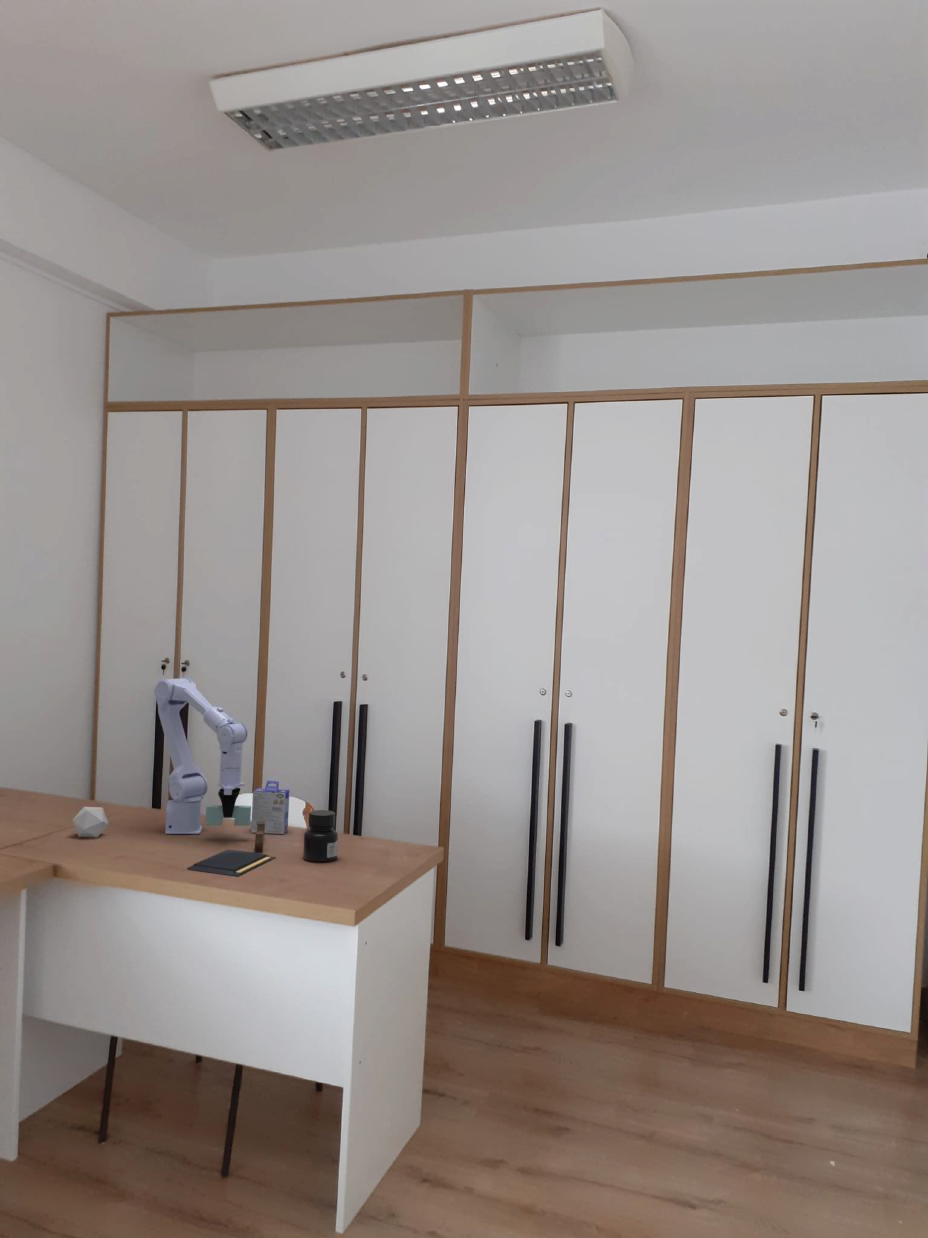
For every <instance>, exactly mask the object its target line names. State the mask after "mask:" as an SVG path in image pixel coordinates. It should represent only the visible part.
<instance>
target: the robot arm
mask: <svg viewBox="0 0 928 1238" xmlns="http://www.w3.org/2000/svg"><path fill="white" fill-rule="evenodd" d="M153 693H154V697H155V700H156V704H157V709H158V710H157V712H158V717H159V720H160V725H161V727H162V731H163V734H164V738H165V742H166V746H167V749H168V752H169V756H170V760H171V763H172V768H173V771H172V772H171V774H169V776H168V779H167V780H168V782H169V783H168V784H169V787H168V788H169V790H168V792H169V794H170V797H171V799H169V800H168V801H167V802H166V803H167V804H166V809H165V811H166V812H165V821H164V823H165V825H164V826H165V830H164V834H166V835H173V834H174V835H175V834H176V835H200V834H201V831H202V830H203V825H201V814H202V813H201V812H202V811H201V810H202V808H201V807H202V800H203V799H204V796H205V795H206V794H207V793H208V787H209V785H208V784H209V782H208V780H207V779H206V777H205V775H204V774H203V772H202V769H201V768H200V767H198V766H197V765H195V764H194V762H193V759H192V754H191V752H190V747H189V744H188V740H187V738H186V737H187V736H186V734H185V730H184V727H183V723H182V722H183V721H182V718H181V715H180V712H181V710H182V709H183V708H184V707H185V706H186V704H189V705H190V706H191V707H193V708H194V709H195V710H197V711H198V712H199V714H201V715H202V716H203V717H202V718H203V722H204V724H206V726H208V727H209V728H210V729H211V730H212V731H213V733H215V734H216V737H217V738H216V739H217V742H218V743H219V749H220V761H219V762H220V763H219V778H218V779H219V781H218V784H217V785H218V787H220V788H219V791H217V792H218V793H217V795H218V797H219V799H220V803H221V805H222V809H223V815H224V817H232V814H233V810H234V806H236V801H237V799H238V797H239V795H240V792H241V788H240V787H244V786H245V785H246V784H245V782H242V781H241V779H242V777H241V776H242V759H243V745H244V743H245V742H246V740H247V739H248V729H247V727H246V726H245V725H244V723H243V722H237V721H235V720H234V719H233V718H232V717H230V716H229V715H228V714H227V713H226V712H225V711H224V710H225V709H224V708H222V707H220V706H213V705H212V704H211V703H210V702H209V701H208V700H207V699H206V698H205V696H204V695H203V694H202V693H201V692H200V691H199V690H198V689H197V684H196V683H195V682H193V680H192V679H191V678H189V677H182V678H162V679H160V680H158V682H157V683H156V685H155V688H154V689H153Z"/></svg>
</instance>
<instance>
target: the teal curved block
mask: <svg viewBox="0 0 928 1238" xmlns="http://www.w3.org/2000/svg"><path fill="white" fill-rule="evenodd" d="M223 819H234V822H233V825H234V826H247V827H251V821H252V805H235V806H234V810H233V814H232V817H224V815H223V809H222V804H221V805H217V804H216V805H212V804H209V805H206V807H205V820H204V821H205V823H204V824H205V826H222V825H223Z"/></svg>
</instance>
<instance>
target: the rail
mask: <svg viewBox="0 0 928 1238" xmlns="http://www.w3.org/2000/svg"><path fill="white" fill-rule="evenodd" d="M265 835H266V833H265V821H258V823H257V831H256V833H255V838H254V839H255V841H254V842H255V843H254V853H261V854H263V850H264V844H265Z"/></svg>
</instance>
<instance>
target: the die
mask: <svg viewBox="0 0 928 1238" xmlns="http://www.w3.org/2000/svg"><path fill="white" fill-rule="evenodd" d="M72 822H73V825H74V828H75V831H76V833H77V836H78V838H94V839H95V838H98V837H99V836H100V835H101V834H102V833H103V832H104V831H105V829H106V828H107V827H108V826H109V822H108V819H107V816H106V813H105V811H104V808H103V807H97V806H83V807H82V808H81V809H80V811H79V812H78V813H77V814H76V816H74V818H73V819H72Z"/></svg>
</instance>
